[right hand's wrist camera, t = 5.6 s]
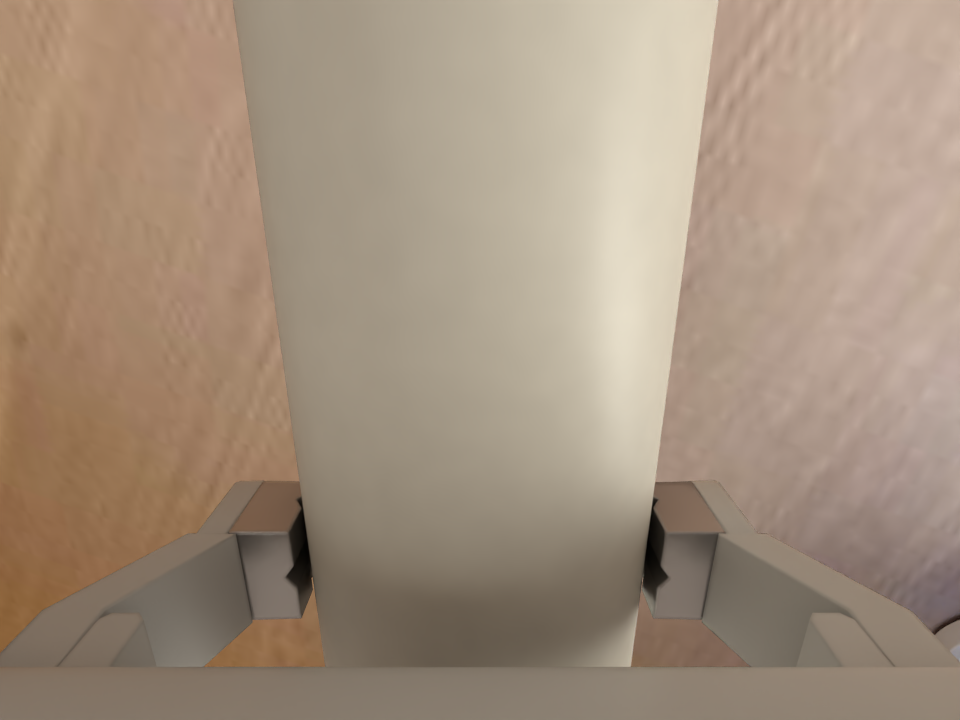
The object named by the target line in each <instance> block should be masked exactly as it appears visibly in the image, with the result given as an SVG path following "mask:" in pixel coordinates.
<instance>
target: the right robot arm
mask: <svg viewBox="0 0 960 720" xmlns="http://www.w3.org/2000/svg"><path fill="white" fill-rule="evenodd" d="M312 577H313V575H312V567H311V560H310V553H309V546H308V539H307V532H306V524H305V517H304V510H303V503H302V496H301V488H300V482H299V481H239V482H236V483H235V484H234V485H233V486H232V488H231V489H230V490H229V492H228V493H227V494H226V495H225V497H224V498H223V499H222V501H221V502H220V503H219V505H218V506H217V507H216V508H215V510H214V511H213V512H212V514H211V515H210V516H209V518H208V519H207V520H206V522H205V523H204V524H203V525H202V527H201V528H200V529H199V531H198V532H197V533H196V534H186V535H184V536H182V537H180V538H179V539H177V540H175V541H173V542H171V543H169V544H167V545H165V546H163V547H161V548H160V549H158V550H156V551H154V552H152V553H150V554H148V555H146V556H144V557H142V558H141V559H139V560H137V561H135V562H133V563H131V564H129V565H127V566H125V567H123V568H122V569H120V570H118V571H116V572H114V573H112V574H110V575H108V576H106V577H104V578H103V579H101V580H99V581H97V582H95V583H93V584H91V585H89V586H87V587H85V588H84V589H82V590H80V591H78V592H76V593H74V594H72V595H70V596H68V597H66V598H65V599H63V600H61V601H59V602H57V603H55V604H53V605H51V606H49V607H48V608H46V609H44V610H42V611H41V612H40V613H39V614H38V615H37V616H36V617H35V618H34V619H33V620H32V621H31V622H30V623H29V624H28V625H27V626H26V627H25V628H24V629H23V630H22V631H21V632H20V633H19V635H18V636H17V637H16V638H15V639H14V640H13V641H12V642H11V643H10V644H9V645H8V646H7V647H6V648H5V649H4V650H3V651H2V652H1V653H0V720H960V620H957V621H955V622H953V623H951V624H949V625H947V626H946V627H944V628H942V629H941V630H940V631H938V632H937V633H936V634H935V635H934V634H933V633H932V632H931V631H930V630H929V629H928V628H927V627H926V626H925V625H924V624H923V622H922V621H921V620H920V619H919V618H918V617H917V616H916V615H915V614H914V613H913V612H912V611H910V610H909V609H907V608H905V607H903V606H901V605H899V604H897V603H895V602H894V601H892V600H890V599H888V598H886V597H884V596H882V595H880V594H879V593H877V592H875V591H873V590H871V589H869V588H867V587H865V586H864V585H862V584H860V583H858V582H856V581H854V580H852V579H850V578H849V577H847V576H845V575H843V574H841V573H839V572H837V571H835V570H834V569H832V568H830V567H828V566H826V565H824V564H822V563H820V562H819V561H817V560H815V559H813V558H811V557H809V556H807V555H805V554H804V553H802V552H800V551H798V550H796V549H794V548H792V547H790V546H788V545H787V544H785V543H783V542H781V541H779V540H777V539H775V538H773V537H772V536H770V535H768V534H758V533H757V532H756V531H755V529H754V528H753V527H752V525H751V524H750V523H749V521H748V520H747V519H746V517H745V516H744V515H743V513H742V512H741V511H740V509H739V508H738V507H737V505H736V504H735V503H734V501H733V500H732V499H731V497H730V496H729V495H728V493H727V492H726V491H725V489H724V488H723V487H722V486H721V484H720V483H719V482H717V481H715V480H709V481H688V482H655V486H654V494H653V501H652V509H651V516H650V524H649V532H648V539H647V547H646V555H645V562H644V570H643V586H642V591H643V593H644V596H645V598H646V601H647V603H648V606H649V609H650V611H651V614H652V616H653V618H658V619H694V620H702V623H703V624H705V625H706V626H707V627H708V628H709V629H710V630H711V631H712V632H713V633H714V634H715V635H717V636H718V637H719V638H720V639H721V640H722V641H723V642H724V643H725V644H726V645H727V646H729V647H730V648H731V649H732V650H733V651H734V652H735V653H736V654H737V655H738V656H740V657H741V658H742V659H743V660H744V661H745V662H746V663H747V664H748V665H749V666H750V667H204V666H205V665H206V664H207V663H208V662H209V661H210V660H211V659H213V658H214V657H215V656H216V655H217V654H218V653H219V652H220V651H221V650H223V649H224V648H225V647H226V646H227V645H228V644H229V643H230V642H231V641H233V640H234V639H235V638H236V637H237V636H238V635H239V634H240V633H241V632H242V631H244V630H245V629H246V628H247V627H248V626H249V625H250V624H251V623H252V620H260V619H295V618H302V615H303V613H304V610H305V608H306V605H307V603H308V600H309V598H310V595H311V593H312V590H313V588H312V580H311V578H312Z"/></svg>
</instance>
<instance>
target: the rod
mask: <svg viewBox="0 0 960 720" xmlns="http://www.w3.org/2000/svg"><path fill="white" fill-rule="evenodd" d="M233 7H234V14H235V21H236V28H237V36H238V43H239V50H240V57H241V64H242V72H243V79H244V86H245V93H246V100H247V108H248V115H249V122H250V129H251V136H252V143H253V151H254V158H255V165H256V172H257V179H258V187H259V194H260V201H261V208H262V215H263V223H264V230H265V237H266V244H267V251H268V258H269V266H270V273H271V280H272V287H273V294H274V302H275V309H276V316H277V323H278V330H279V338H280V345H281V352H282V359H283V366H284V373H285V381H286V388H287V395H288V402H289V409H290V417H291V424H292V431H293V438H294V445H295V452H296V460H297V467H298V474H299V481H300V488H301V496H302V503H303V510H304V517H305V524H306V532H307V539H308V546H309V553H310V560H311V567H312V575H313V582H314V589H315V596H316V603H317V611H318V618H319V625H320V632H321V639H322V647H323V654H324V661H325V667H631V661H632V653H633V646H634V638H635V631H636V623H637V615H638V608H639V600H640V593H641V585H642V577H643V570H644V562H645V555H646V547H647V539H648V532H649V524H650V516H651V509H652V501H653V494H654V486H655V478H656V471H657V463H658V456H659V448H660V440H661V433H662V425H663V418H664V410H665V402H666V395H667V387H668V380H669V372H670V364H671V357H672V349H673V342H674V334H675V326H676V319H677V311H678V304H679V296H680V288H681V281H682V273H683V266H684V258H685V250H686V243H687V235H688V228H689V220H690V212H691V205H692V197H693V190H694V182H695V174H696V167H697V159H698V152H699V144H700V136H701V129H702V121H703V114H704V106H705V98H706V91H707V83H708V75H709V68H710V60H711V53H712V45H713V37H714V30H715V22H716V15H717V7H718V0H233Z"/></svg>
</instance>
